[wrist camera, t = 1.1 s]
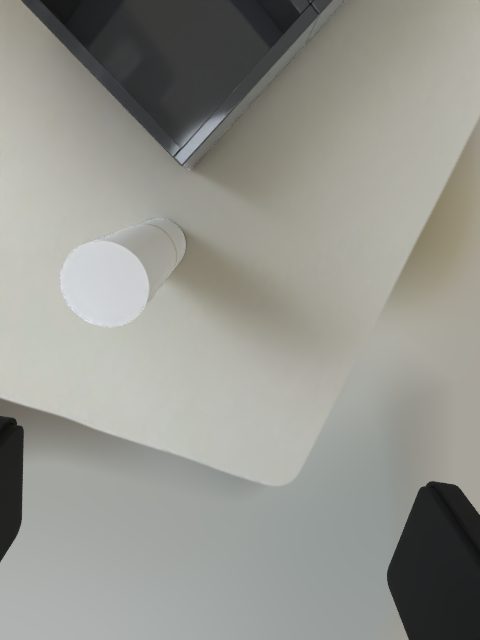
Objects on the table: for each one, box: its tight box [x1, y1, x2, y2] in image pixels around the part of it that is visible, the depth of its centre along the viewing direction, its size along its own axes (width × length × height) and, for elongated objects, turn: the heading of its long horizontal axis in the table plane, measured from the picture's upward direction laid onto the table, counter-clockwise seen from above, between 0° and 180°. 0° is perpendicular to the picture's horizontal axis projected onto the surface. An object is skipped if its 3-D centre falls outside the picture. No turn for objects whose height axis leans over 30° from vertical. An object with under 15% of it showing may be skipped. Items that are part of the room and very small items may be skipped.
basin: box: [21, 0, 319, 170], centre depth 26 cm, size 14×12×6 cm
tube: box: [60, 218, 186, 327], centre depth 27 cm, size 4×4×15 cm
